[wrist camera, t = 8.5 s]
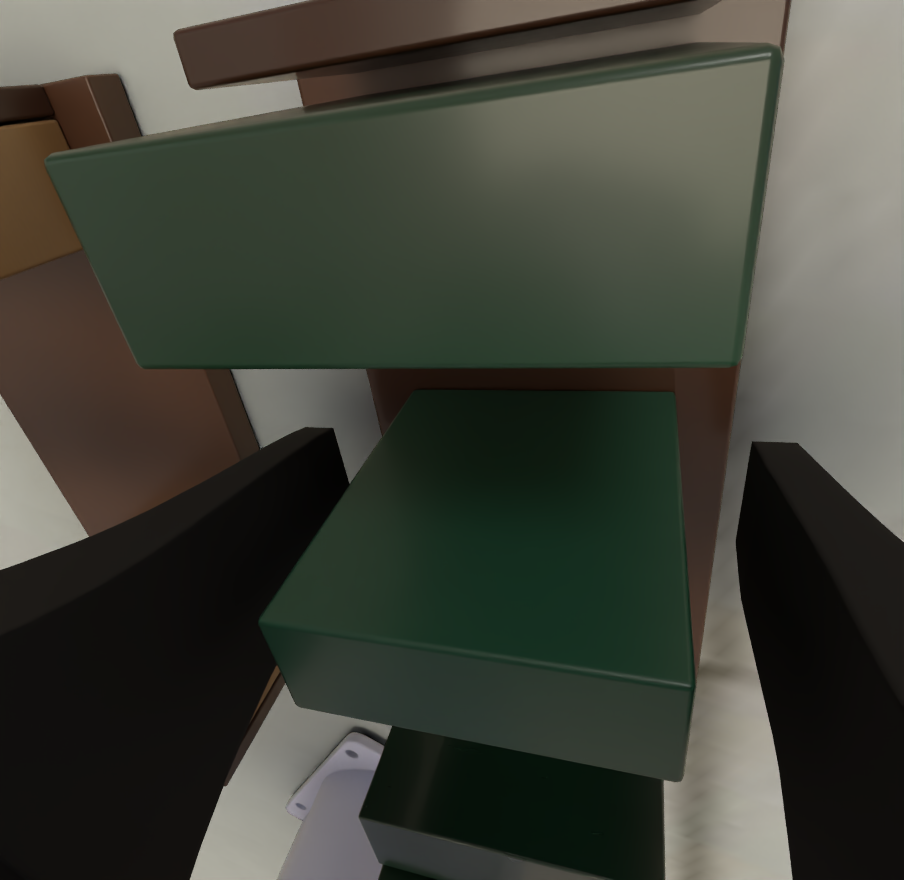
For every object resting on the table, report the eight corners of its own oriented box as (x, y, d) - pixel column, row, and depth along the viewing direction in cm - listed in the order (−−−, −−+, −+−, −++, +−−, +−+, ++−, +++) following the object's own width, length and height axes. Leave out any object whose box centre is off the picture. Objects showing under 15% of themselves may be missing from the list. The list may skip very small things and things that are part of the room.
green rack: (690, 694, 16) (710, 1032, 10) (446, 656, 18) (358, 921, 13) (787, -47, 7) (1140, -276, 2) (311, 45, 10) (-126, 50, 4)
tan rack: (334, 647, 19) (213, 881, 14) (166, 620, 22) (4, 814, 16) (119, 73, 11) (-420, 103, 5) (-128, 122, 13) (-690, 180, 7)
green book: (669, 471, 11) (684, 787, 6) (427, 459, 13) (294, 708, 8) (675, 389, 10) (697, 689, 6) (413, 387, 12) (252, 621, 7)
